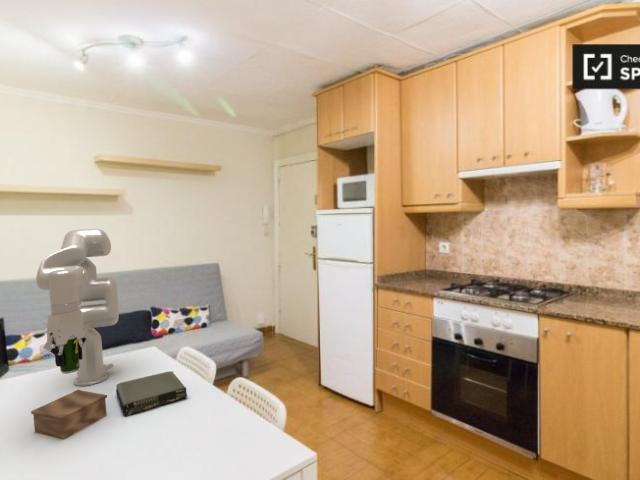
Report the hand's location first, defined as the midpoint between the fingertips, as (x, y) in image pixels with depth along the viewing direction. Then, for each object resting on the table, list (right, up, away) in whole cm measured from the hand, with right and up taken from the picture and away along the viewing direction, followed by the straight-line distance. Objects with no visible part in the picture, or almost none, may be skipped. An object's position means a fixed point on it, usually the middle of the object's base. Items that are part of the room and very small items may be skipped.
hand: (69, 362), depth 129 cm
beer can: (0, -3, 0) cm, 3 cm away
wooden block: (0, -21, +2) cm, 21 cm away
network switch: (+18, -20, +19) cm, 33 cm away
